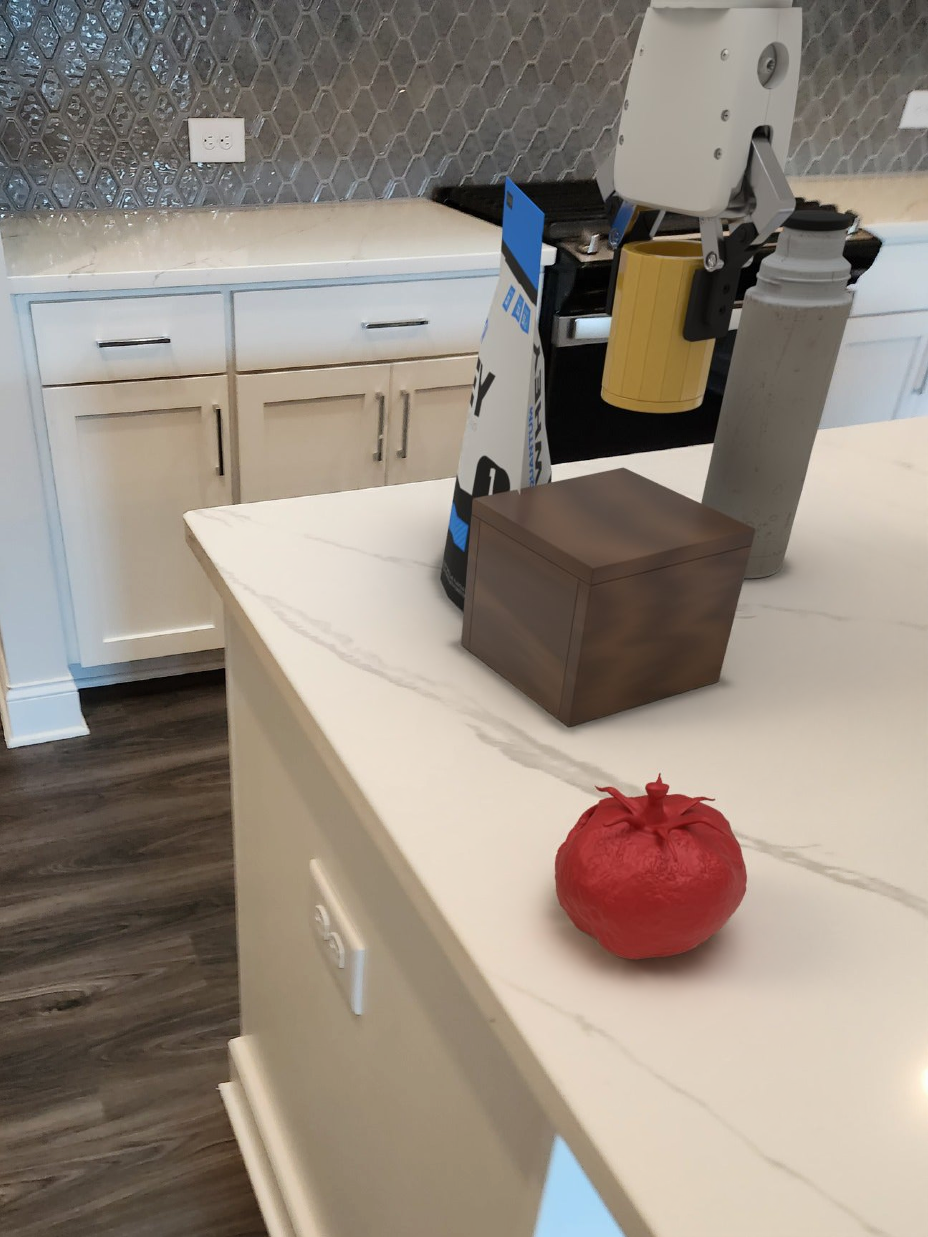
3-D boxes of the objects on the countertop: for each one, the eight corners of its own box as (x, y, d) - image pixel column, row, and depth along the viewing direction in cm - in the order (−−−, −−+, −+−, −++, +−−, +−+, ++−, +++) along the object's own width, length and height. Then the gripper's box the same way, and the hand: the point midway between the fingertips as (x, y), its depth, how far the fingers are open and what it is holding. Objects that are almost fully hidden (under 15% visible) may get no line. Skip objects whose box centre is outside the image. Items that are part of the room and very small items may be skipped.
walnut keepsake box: (600, 608, 93) (623, 466, 86) (719, 681, 83) (756, 528, 76) (460, 644, 88) (472, 498, 81) (568, 727, 78) (593, 568, 71)
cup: (656, 379, 77) (681, 235, 72) (724, 404, 72) (756, 252, 67) (580, 392, 75) (600, 244, 69) (645, 418, 70) (672, 262, 65)
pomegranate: (767, 954, 60) (813, 816, 54) (606, 1000, 57) (637, 860, 51) (661, 847, 67) (692, 716, 61) (515, 884, 64) (533, 751, 59)
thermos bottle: (747, 538, 104) (829, 201, 87) (800, 572, 98) (898, 217, 81) (673, 548, 102) (741, 207, 86) (722, 583, 96) (806, 223, 79)
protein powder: (531, 530, 107) (564, 174, 90) (567, 640, 88) (618, 212, 70) (433, 531, 108) (448, 177, 90) (447, 641, 88) (469, 216, 71)
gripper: (906, -28, 55) (810, 349, 66) (670, -24, 68) (622, 293, 78) (796, -28, 53) (715, 365, 63) (571, -23, 65) (535, 305, 76)
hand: (664, 323), depth 71 cm, fingers closed on cup, 6 cm apart
